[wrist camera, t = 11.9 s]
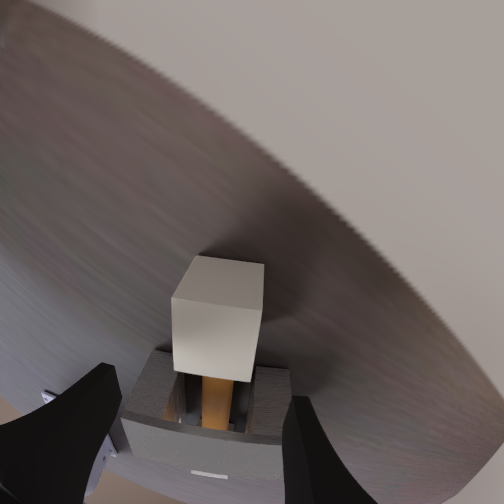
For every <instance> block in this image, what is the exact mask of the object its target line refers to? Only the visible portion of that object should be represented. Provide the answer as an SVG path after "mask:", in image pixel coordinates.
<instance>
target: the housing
mask: <svg viewBox="0 0 504 504" xmlns="http://www.w3.org/2000/svg"><path fill="white" fill-rule="evenodd" d="M290 401H291V383H290V369H279V368H269V367H259V366H256V370H255V376H254V381H253V387H252V392H251V398H250V403H249V409H248V414H247V419H246V425H245V433H240V432H232V431H225V430H218V429H211V428H205V427H199V426H193V425H188V424H184V423H185V420H186V397H185V372H180V371H174V361H173V353H167V352H162V351H157V350H152V352H151V354H150V356H149V358H148V360H147V362H146V364H145V366H144V368H143V370H142V372H141V374H140V376H139V378H138V381H137V383H136V385H135V387H134V389H133V391H132V393H131V395H130V397H129V400H128V402H127V404H126V406H125V408H124V410H123V413H122V415H121V417H120V419H121V422H122V425H123V428H124V431H125V433H126V436H127V439H128V442H129V444H130V447H131V450H132V452H133V455H134V456H135V457H138V458H142V459H145V460H149V461H153V462H157V463H161V464H165V465H170V466H174V467H179V468H184V469H189V470H194V471H200V472H206V473H212V474H219V475H227V476H235V477H245V478H256V479H272V480H278V479H279V477H280V475H281V472H282V470H283V458H282V427H283V422H284V419H285V416H286V413H287V410H288V407H289V404H290Z"/></svg>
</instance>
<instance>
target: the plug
mask: <svg viewBox="0 0 504 504" xmlns="http://www.w3.org/2000/svg"><path fill="white" fill-rule="evenodd" d="M263 284H264V264H259V263H252V262H244V261H236V260H229V259H221V258H214V257H206V256H199V255H196V256H195V258H194V259H193V261H192V263H191V265H190V266H189V268H188V270H187V271H186V273H185V275H184V277H183V278H182V280H181V282H180V284H179V285H178V287H177V289H176V291H175V292H174V294H173V296H172V298H171V301H172V340H173V361H174V371H180V372H185V373H190V374H196V375H202V419H198V422H197V426H199V427H205V428H211V429H218V430H225V431H232V432H234V425H235V424H231V423H229V417H230V409H231V401H232V392H233V384H234V380H235V381H243V382H251V376H252V370H253V364H254V358H255V352H256V346H257V340H258V334H259V328H260V322H261V316H262V308H263ZM191 471H192V474H197V475H203V476H209V477H216V478H223V479H227V478H228V476H227V475H219V474H212V473H206V472H200V471H194V470H191Z"/></svg>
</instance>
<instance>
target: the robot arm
mask: <svg viewBox="0 0 504 504" xmlns="http://www.w3.org/2000/svg"><path fill="white" fill-rule="evenodd" d="M42 396H43V398H44V400H45V402H46V404H45V405H43V406H42V407H40V408H38V409H37V410H35V411H33V412H31V413H29V414H27V415H25V416H23V417H20V418H18V419H16V420H13V421H11V422H8V423H6V424H2V425H0V504H86V503H85V502H83V501H84V498H85V496H87V495H89V494H91V493H92V492H93V491H94V490H95V488H96V487H97V484H98V481H99V479H100V477H101V474H102V472H103V469H104V467H105V464H106V462H107V460H108V457H109V455H111V456H114V457H116V456H117V452H116V450H115V448H114V446H113V443H112V441H111V439H110V437H109V434H108V432H109V430H110V428H111V426H112V423H113V421H114V419H115V417H116V414H117V412H118V409H119V406H120V403H121V399H122V395H121V391H120V387H119V383H118V379H117V375H116V371H115V366H113V365H110V364H106V363H103V362H102V363H100V364H99V365H98V366H96V367H95V368H94V369H92V370H91V371H90V372H89V373H87V374H86V375H85V376H84V377H82V378H81V379H80V380H79V381H77V382H76V383H75V384H74V385H72V386H71V387H70V388H68V389H67V390H66V391H64V392H63V393H62V394H60V395H59V396H57V397H56V396H54V395H51V394H49V393H47V392H44V391H43V392H42ZM282 458H283V471H284V484H285V504H378V503H377V502H376V501H375V500H374V499H373V498H372V497H371V496H370V495H369V494H368V493H367V492H366V491H365V490H364V489H363V488H362V487H361V486H360V485H359V483H358V482H357V481H356V480H355V479H354V477H353V476H352V475H351V474H350V472H349V471H348V470H347V468H346V467H345V465H344V464H343V463H342V461H341V460H340V458H339V456H338V455H337V453H336V452H335V450H334V448H333V447H332V445H331V443H330V441H329V440H328V438H327V436H326V434H325V432H324V430H323V428H322V426H321V424H320V422H319V420H318V418H317V416H316V413H315V411H314V409H313V406H312V404H311V401H310V399H309V397H307V396H292V398H291V401H290V404H289V407H288V410H287V413H286V416H285V419H284V422H283V427H282Z"/></svg>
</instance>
